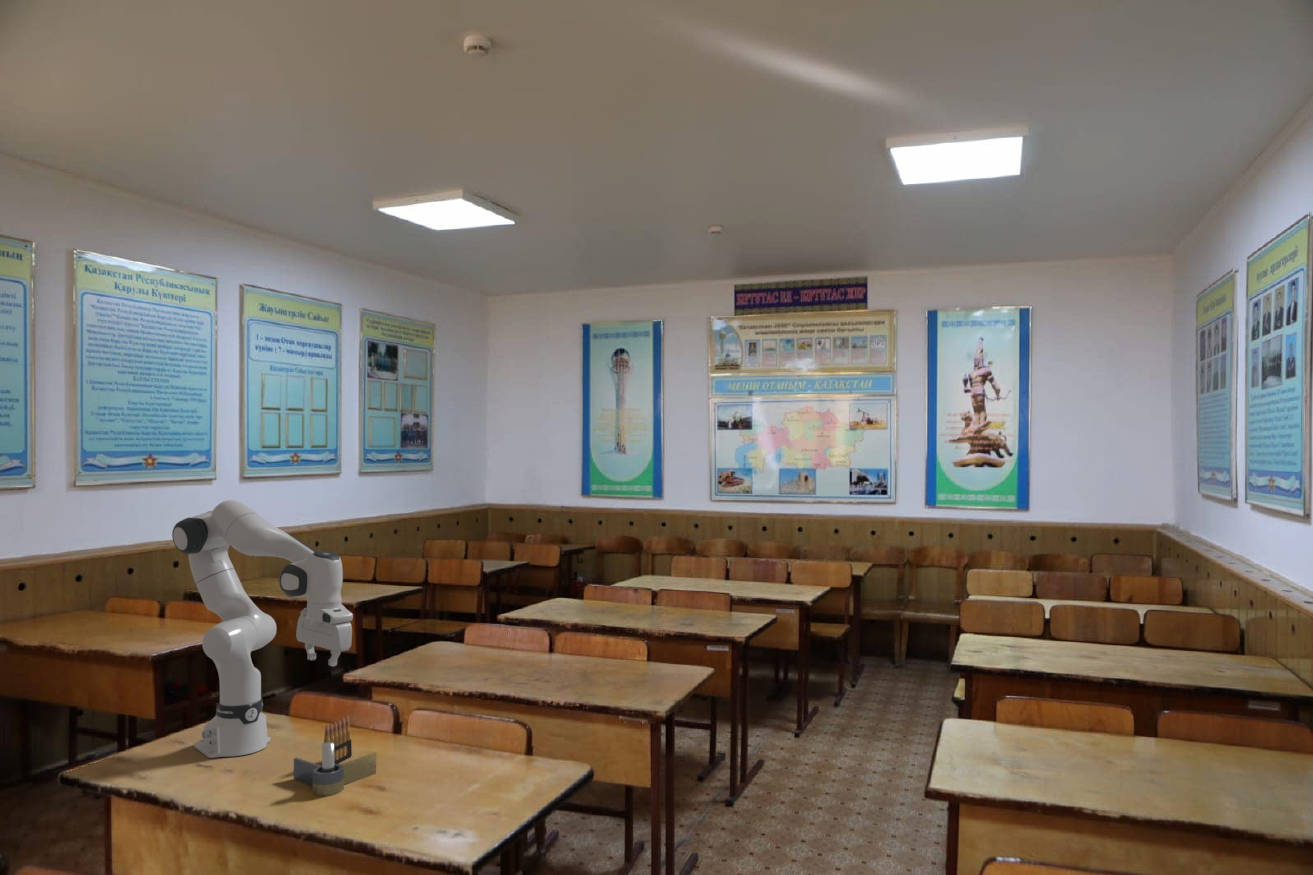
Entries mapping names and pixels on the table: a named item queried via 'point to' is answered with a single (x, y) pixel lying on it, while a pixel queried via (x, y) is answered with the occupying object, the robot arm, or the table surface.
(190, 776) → the table surface
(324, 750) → the hinge pin
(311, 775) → the steel leaf
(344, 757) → the ammunition clip
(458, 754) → the table surface
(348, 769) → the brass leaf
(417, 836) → the table surface
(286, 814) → the table surface
